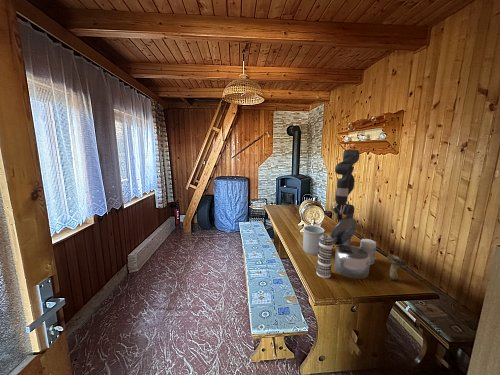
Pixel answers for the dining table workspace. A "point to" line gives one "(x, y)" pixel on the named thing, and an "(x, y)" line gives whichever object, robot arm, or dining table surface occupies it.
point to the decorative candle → (325, 256)
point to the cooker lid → (344, 230)
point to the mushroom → (395, 265)
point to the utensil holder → (312, 239)
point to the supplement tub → (369, 248)
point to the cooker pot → (352, 261)
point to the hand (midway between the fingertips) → (339, 219)
